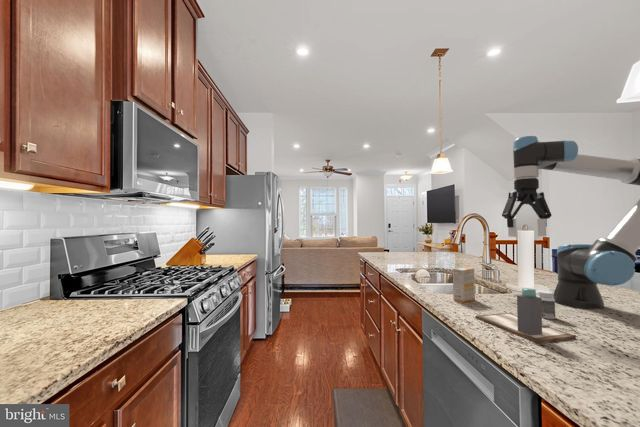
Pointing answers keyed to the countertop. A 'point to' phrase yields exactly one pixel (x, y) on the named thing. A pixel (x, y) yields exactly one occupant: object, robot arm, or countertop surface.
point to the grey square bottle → (529, 312)
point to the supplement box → (463, 284)
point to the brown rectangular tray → (511, 325)
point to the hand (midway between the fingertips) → (527, 236)
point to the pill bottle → (547, 304)
